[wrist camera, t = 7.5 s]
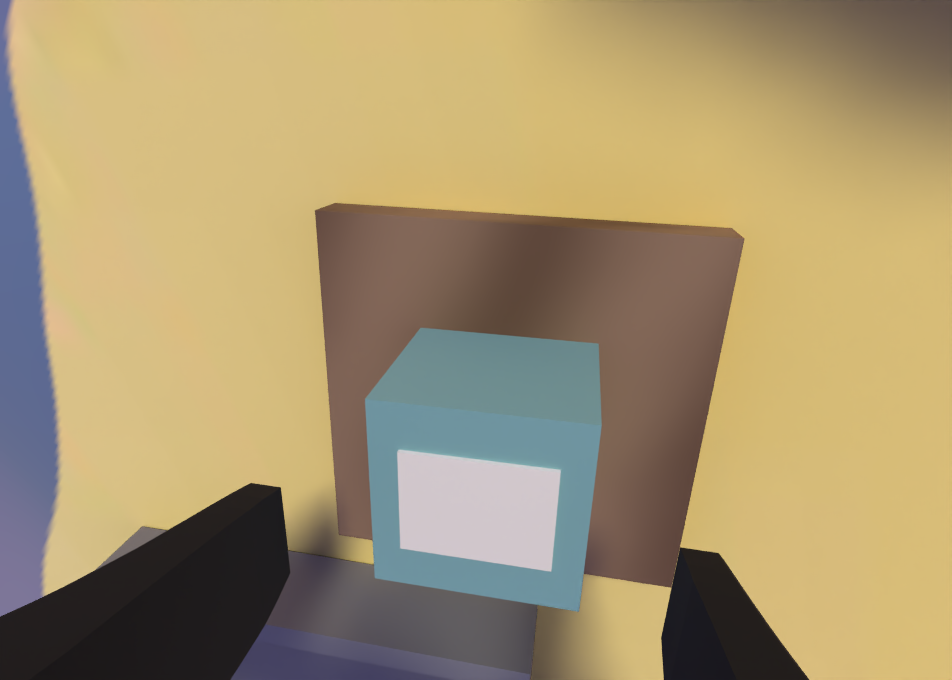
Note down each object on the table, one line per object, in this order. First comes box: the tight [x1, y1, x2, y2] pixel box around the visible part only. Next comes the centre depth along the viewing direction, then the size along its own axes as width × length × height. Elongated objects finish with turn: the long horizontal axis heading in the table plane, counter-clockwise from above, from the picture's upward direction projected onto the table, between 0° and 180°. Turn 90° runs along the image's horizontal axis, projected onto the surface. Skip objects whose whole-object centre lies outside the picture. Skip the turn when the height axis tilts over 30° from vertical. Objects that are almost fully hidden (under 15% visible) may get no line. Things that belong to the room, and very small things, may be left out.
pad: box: [315, 203, 744, 587], centre depth 16 cm, size 10×10×1 cm
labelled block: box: [365, 328, 602, 612], centre depth 13 cm, size 4×4×4 cm
